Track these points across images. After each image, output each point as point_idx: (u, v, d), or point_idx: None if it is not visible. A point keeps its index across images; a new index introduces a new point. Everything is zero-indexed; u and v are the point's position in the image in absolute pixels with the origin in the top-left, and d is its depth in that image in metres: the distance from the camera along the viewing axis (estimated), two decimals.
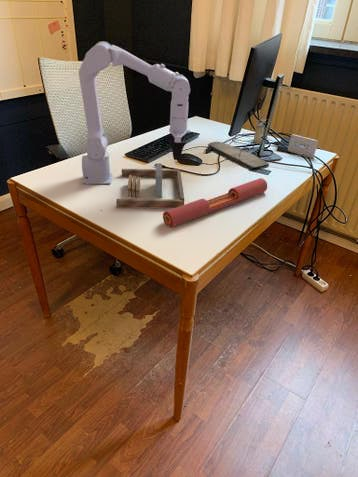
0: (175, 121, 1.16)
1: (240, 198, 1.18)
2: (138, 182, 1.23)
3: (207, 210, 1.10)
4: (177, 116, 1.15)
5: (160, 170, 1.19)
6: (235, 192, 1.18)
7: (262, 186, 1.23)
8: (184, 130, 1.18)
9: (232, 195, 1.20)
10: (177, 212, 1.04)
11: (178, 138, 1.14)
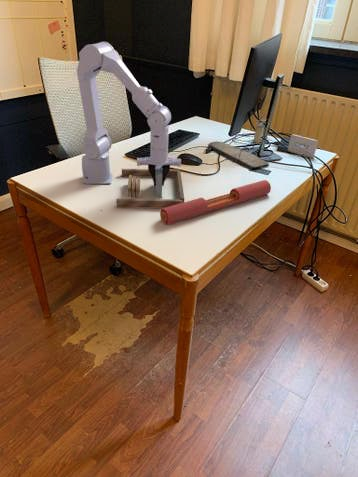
0: None
1: (241, 199, 1.18)
2: (138, 182, 1.23)
3: (205, 209, 1.11)
4: (154, 147, 1.13)
5: (160, 170, 1.19)
6: (236, 193, 1.17)
7: (265, 188, 1.22)
8: (153, 160, 1.16)
9: (233, 196, 1.20)
10: (174, 210, 1.05)
11: (137, 161, 1.17)
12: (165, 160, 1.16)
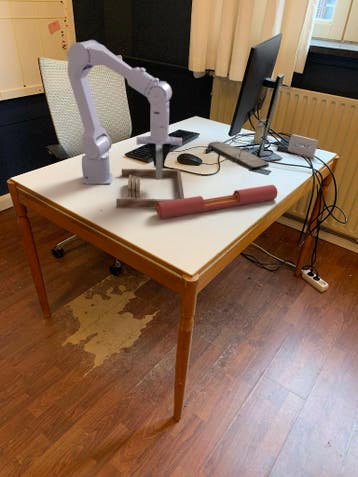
0: None
1: (242, 201, 1.16)
2: (138, 182, 1.23)
3: (202, 208, 1.11)
4: (154, 124, 1.09)
5: (160, 151, 1.15)
6: (238, 195, 1.16)
7: (271, 193, 1.19)
8: (153, 139, 1.11)
9: (236, 197, 1.19)
10: (168, 205, 1.07)
11: (136, 139, 1.13)
12: (166, 138, 1.12)
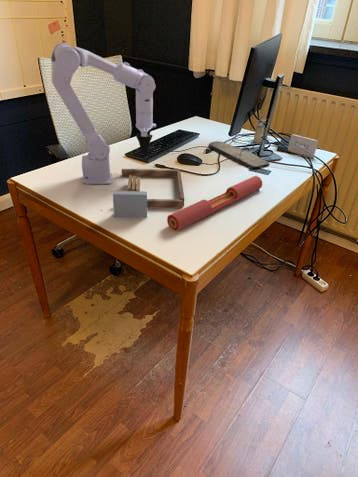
0: (140, 116, 1.21)
1: (239, 197, 1.19)
2: (138, 182, 1.23)
3: (210, 211, 1.10)
4: (145, 111, 1.19)
5: (132, 192, 1.06)
6: (233, 191, 1.18)
7: (258, 184, 1.25)
8: (150, 124, 1.23)
9: (230, 194, 1.21)
10: (182, 215, 1.03)
11: (144, 132, 1.19)
12: None
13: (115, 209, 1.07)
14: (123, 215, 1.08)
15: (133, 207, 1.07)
